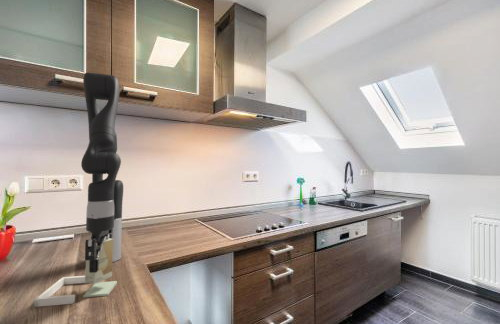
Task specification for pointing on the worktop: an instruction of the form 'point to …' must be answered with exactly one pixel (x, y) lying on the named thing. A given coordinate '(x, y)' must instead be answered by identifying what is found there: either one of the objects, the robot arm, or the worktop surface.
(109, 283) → the pad
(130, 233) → the worktop surface
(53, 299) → the white frame
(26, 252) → the worktop surface
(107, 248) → the skincare box
